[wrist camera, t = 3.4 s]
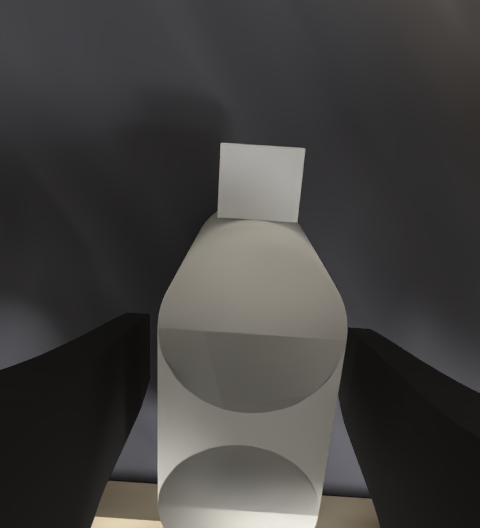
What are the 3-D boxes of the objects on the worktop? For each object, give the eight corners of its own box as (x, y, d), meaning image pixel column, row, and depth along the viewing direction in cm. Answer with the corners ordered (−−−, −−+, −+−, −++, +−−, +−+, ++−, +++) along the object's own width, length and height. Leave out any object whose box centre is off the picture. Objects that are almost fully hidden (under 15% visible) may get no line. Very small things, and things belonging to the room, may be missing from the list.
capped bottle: (322, 148, 11) (377, 155, 6) (289, 426, 14) (308, 573, 9) (196, 140, 11) (156, 140, 6) (188, 419, 14) (157, 562, 9)
